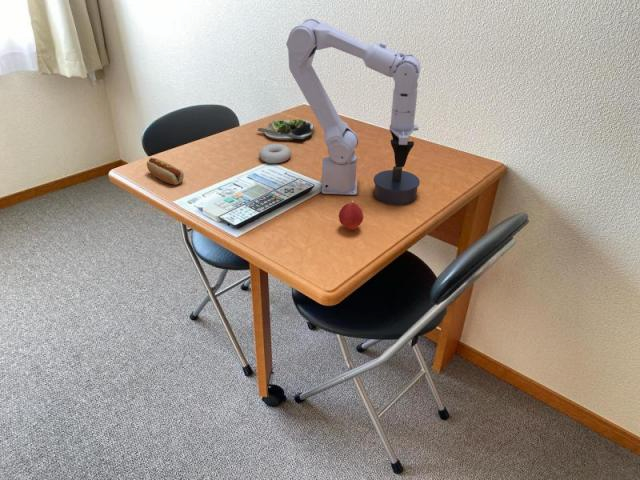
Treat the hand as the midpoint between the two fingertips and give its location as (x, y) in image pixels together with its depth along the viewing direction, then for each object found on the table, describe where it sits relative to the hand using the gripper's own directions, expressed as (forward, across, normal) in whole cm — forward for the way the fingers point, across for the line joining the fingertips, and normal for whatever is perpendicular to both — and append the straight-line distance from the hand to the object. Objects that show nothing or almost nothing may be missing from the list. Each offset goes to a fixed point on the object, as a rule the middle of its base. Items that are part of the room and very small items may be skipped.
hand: (399, 160), depth 125 cm
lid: (+6, 0, 0) cm, 6 cm away
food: (+10, +4, +66) cm, 67 cm away
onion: (+10, -18, +12) cm, 24 cm away
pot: (+10, 0, 0) cm, 10 cm away
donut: (+10, +20, +37) cm, 43 cm away
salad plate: (+10, +42, +35) cm, 55 cm away
